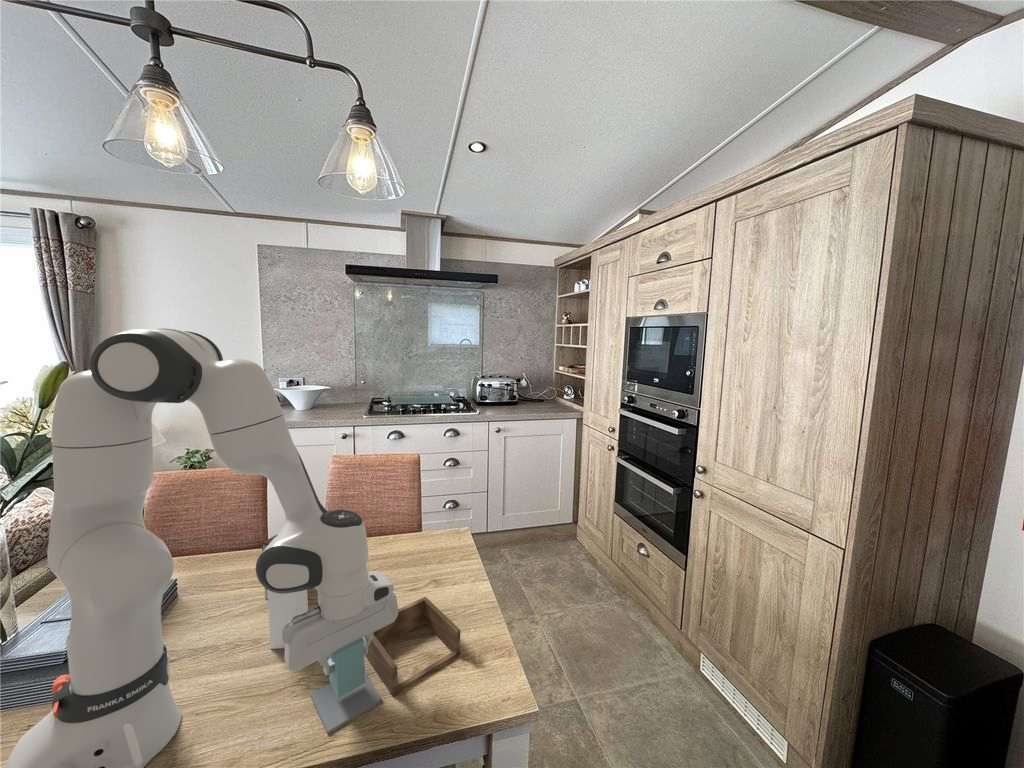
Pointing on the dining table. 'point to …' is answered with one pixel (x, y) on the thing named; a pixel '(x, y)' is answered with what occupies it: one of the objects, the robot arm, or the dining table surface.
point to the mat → (344, 704)
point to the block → (348, 668)
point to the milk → (284, 613)
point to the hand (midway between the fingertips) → (346, 662)
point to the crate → (404, 622)
